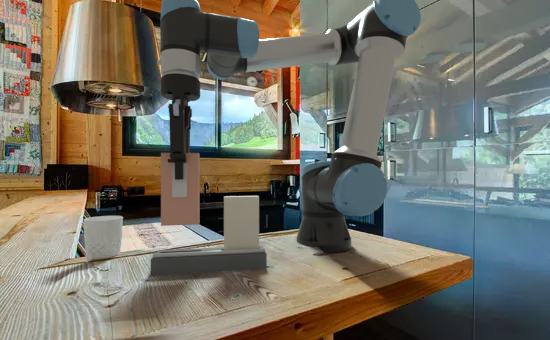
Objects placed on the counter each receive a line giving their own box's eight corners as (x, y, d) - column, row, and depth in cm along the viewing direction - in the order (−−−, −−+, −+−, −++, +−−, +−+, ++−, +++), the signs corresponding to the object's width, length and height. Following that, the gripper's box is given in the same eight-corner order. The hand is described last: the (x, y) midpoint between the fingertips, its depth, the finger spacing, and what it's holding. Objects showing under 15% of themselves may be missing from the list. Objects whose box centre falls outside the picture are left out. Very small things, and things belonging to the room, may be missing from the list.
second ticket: (257, 262, 61) (257, 195, 62) (259, 265, 59) (258, 196, 59) (223, 264, 60) (223, 196, 60) (223, 267, 58) (224, 197, 58)
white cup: (105, 267, 63) (105, 221, 63) (74, 265, 65) (74, 220, 65) (130, 257, 71) (130, 216, 71) (102, 255, 72) (102, 215, 73)
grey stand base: (262, 266, 63) (262, 241, 64) (266, 276, 57) (266, 249, 57) (158, 272, 60) (158, 246, 60) (150, 283, 53) (150, 254, 53)
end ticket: (199, 222, 59) (199, 153, 60) (198, 224, 57) (198, 152, 57) (163, 223, 58) (163, 153, 58) (160, 225, 56) (160, 152, 56)
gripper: (168, 88, 65) (168, 194, 65) (151, 62, 50) (151, 200, 49) (202, 90, 66) (202, 193, 66) (196, 64, 51) (197, 199, 51)
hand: (180, 196), depth 58 cm, fingers closed on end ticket, 2 cm apart
